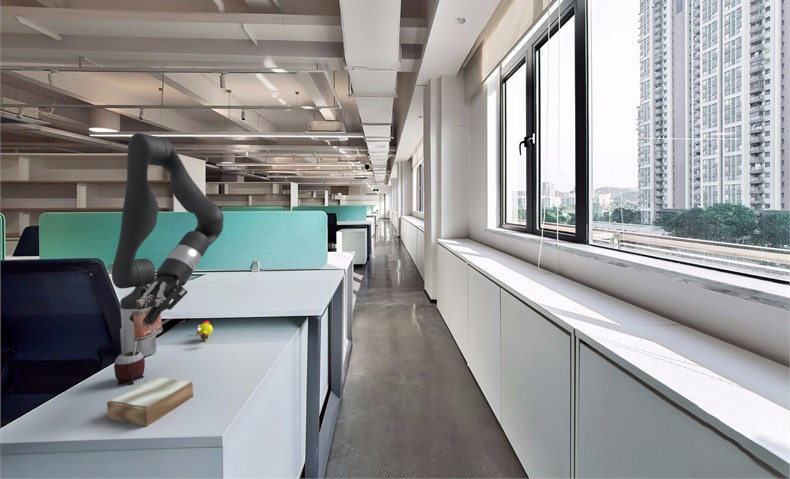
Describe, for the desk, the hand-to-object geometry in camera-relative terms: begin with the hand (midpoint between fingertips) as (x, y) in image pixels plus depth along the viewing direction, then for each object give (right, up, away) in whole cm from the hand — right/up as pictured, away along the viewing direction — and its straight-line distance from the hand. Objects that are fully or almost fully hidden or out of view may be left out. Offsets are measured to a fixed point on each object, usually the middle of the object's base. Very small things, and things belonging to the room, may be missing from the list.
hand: (140, 321), depth 84 cm
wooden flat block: (0, -23, +4) cm, 23 cm away
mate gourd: (-16, -22, +18) cm, 32 cm away
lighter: (0, -4, +2) cm, 5 cm away
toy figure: (-11, -19, +48) cm, 53 cm away
